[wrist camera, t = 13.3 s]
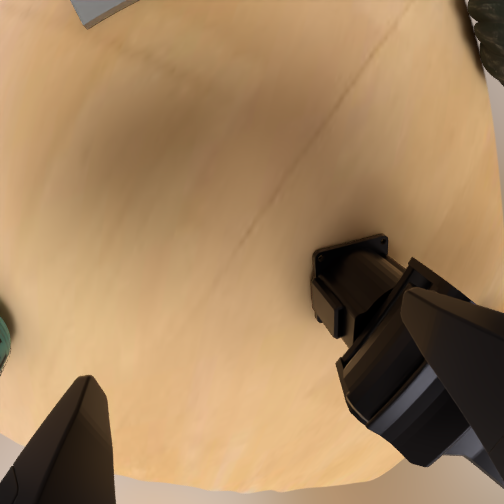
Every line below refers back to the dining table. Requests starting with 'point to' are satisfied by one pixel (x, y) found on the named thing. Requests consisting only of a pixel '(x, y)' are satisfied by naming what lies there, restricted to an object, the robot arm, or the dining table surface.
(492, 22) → the squash
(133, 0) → the dock
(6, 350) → the beverage bottle
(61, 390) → the dining table surface
